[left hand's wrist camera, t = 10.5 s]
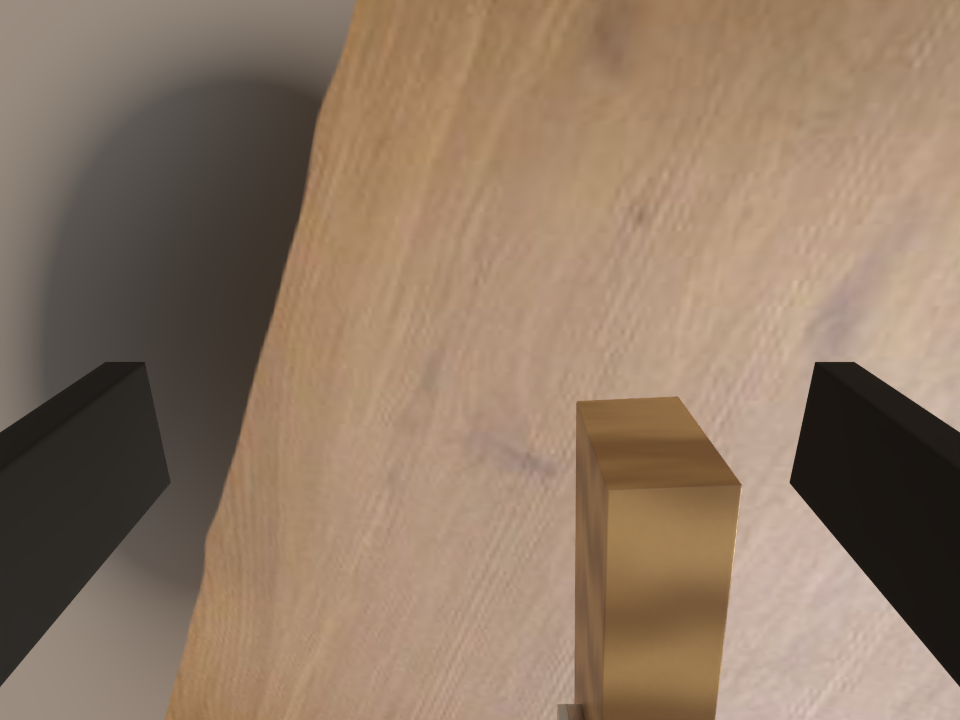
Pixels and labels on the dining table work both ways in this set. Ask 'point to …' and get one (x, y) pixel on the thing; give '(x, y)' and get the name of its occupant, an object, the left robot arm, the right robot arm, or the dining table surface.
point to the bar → (650, 561)
